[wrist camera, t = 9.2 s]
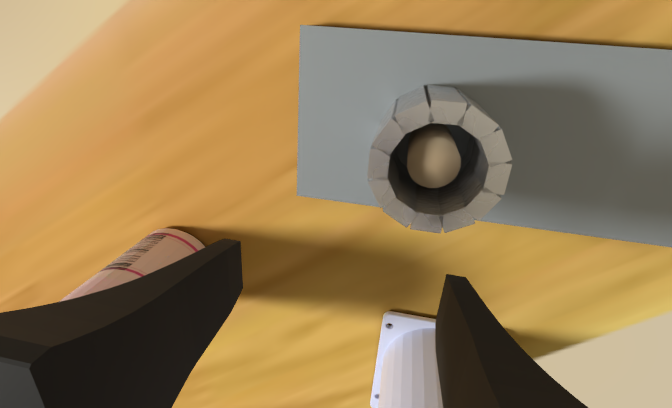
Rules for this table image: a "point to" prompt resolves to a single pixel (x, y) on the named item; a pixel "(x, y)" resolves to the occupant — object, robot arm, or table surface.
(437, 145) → the post
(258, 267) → the table surface
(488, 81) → the board
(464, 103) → the gray hollow cylinder
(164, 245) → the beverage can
